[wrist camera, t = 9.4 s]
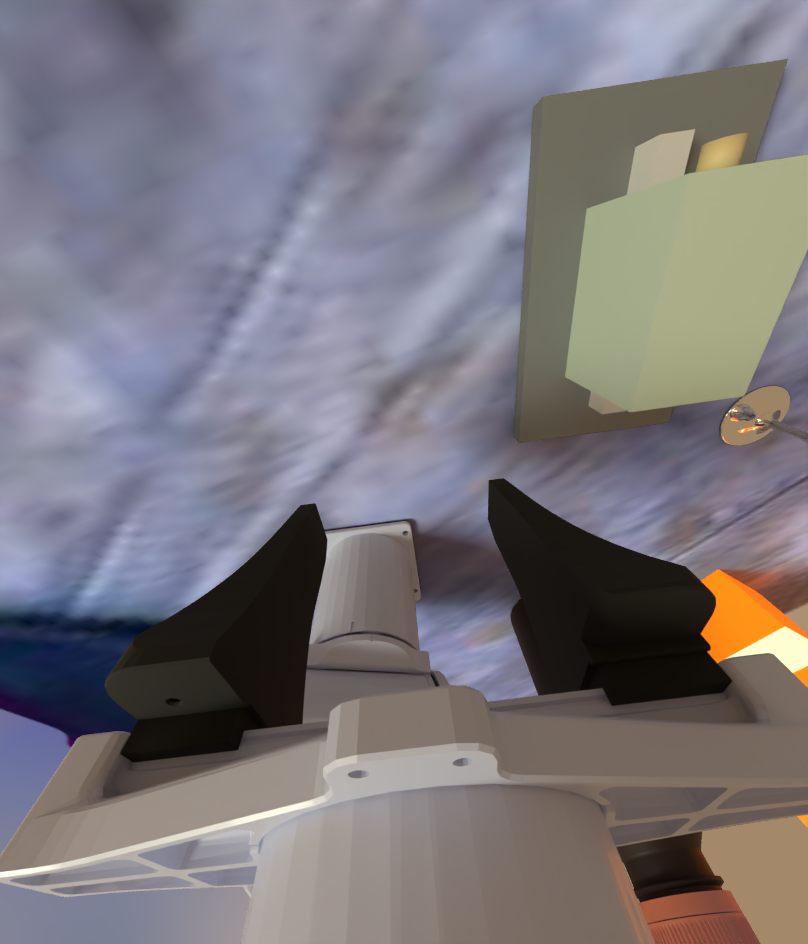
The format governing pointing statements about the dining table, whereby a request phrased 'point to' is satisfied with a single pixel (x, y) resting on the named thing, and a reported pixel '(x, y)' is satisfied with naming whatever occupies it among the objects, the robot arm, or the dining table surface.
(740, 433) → the wineglass
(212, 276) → the dining table surface
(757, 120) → the cleat board
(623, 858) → the bottle
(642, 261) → the cabinet block
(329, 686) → the robot arm
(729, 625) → the orange juice
